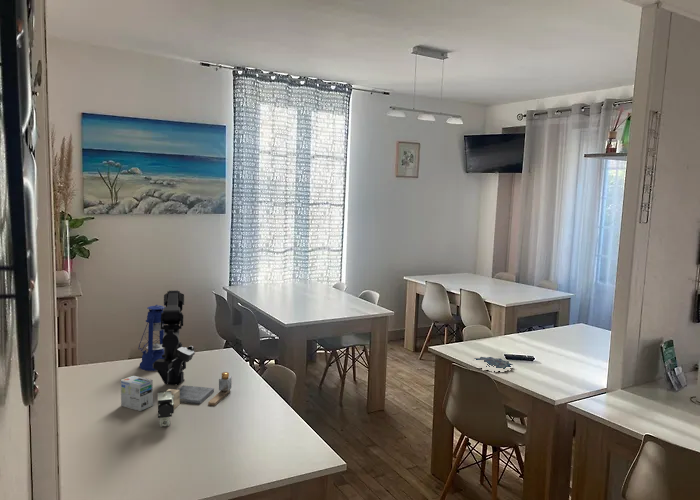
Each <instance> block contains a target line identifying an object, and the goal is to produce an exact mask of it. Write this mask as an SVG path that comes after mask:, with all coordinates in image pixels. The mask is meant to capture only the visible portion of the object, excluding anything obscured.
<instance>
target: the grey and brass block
mask: <svg viewBox="0 0 700 500" xmlns="http://www.w3.org/2000/svg"><path fill="white" fill-rule="evenodd" d="M232 379H233V378H232V376H230V372H228V371H223V372H221V377H219V379H218V391H219V392H220V391H229V390H230V391H231V389H232Z"/></svg>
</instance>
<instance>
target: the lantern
mask: <svg viewBox="0 0 700 500" xmlns="http://www.w3.org/2000/svg"><path fill="white" fill-rule="evenodd" d="M165 307H166V306H164V305H161V304H155V305H150V306H148V307H147V310H148V311H147V316H146V320H145V323H146V325H145V328H144V331H143V333H142V336H141V339H140V342H139V344H138V348H139V350H140V352H141V353H142V355H141V362H140V363H139V369H140V370H142V371H146V372H147V371H148V372H157V370H155V369H153V363H154V362H155V361H156V360H158V359H164V358H162V355H163V354H164V347H162V344H163V343H162V340H163V335H164V330H161V313H163V309H164V308H165ZM163 325H164V324H163ZM146 330H147V332H146ZM158 331H159V335H158V334H156V333H154V332H158ZM147 333H148V334H147ZM145 335H147V337H146V336H145ZM154 335H155V336H157V337H159V338H157V339H156V340H154ZM143 337H145V339H146V340H147V343H146V344H144V345H143V347H141V348H140V346H141V343H142V341H143ZM156 341H159V343H158V342H156ZM155 342H156V343H155ZM146 345H147V346H146ZM144 348H146V349H147V350H144Z"/></svg>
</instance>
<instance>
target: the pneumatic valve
mask: <svg viewBox="0 0 700 500" xmlns="http://www.w3.org/2000/svg"><path fill="white" fill-rule="evenodd" d="M173 398H174V395H171V391H167V390H166V391H158V392H157V418H158V419H159V427H160V428H162V427H169V426H170V425H171V423H170V422H171V421H170V419H171V417H173V415H174V414H175V411H174V403H173Z"/></svg>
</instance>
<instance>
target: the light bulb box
mask: <svg viewBox="0 0 700 500" xmlns="http://www.w3.org/2000/svg"><path fill="white" fill-rule="evenodd" d="M153 385H154V382H153V379H151V378H150V379H149V378H146V377H141V376H138V375H137V376H136V375H132V376H128V377H126V378H122V379H120V406H121V407H124V408H127V409H131V410H135V411H139V412H141V411H143V410H144V411H145V410H146V409H148V408H150V407H152V406H154V390H153V389H154V388H153Z"/></svg>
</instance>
